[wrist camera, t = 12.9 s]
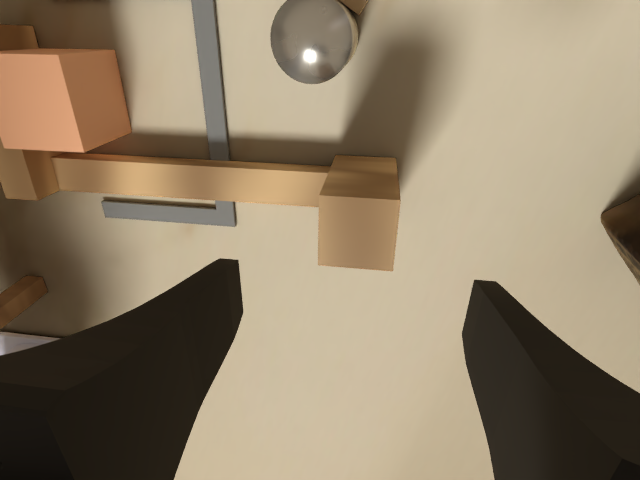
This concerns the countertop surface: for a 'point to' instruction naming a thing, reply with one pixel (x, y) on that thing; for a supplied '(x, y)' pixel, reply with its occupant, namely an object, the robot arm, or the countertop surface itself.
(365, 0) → the maple bar
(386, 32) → the countertop surface
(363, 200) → the oak crook
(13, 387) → the robot arm
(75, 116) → the terracotta cube
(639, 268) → the beverage carton
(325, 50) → the spice tin
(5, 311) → the wooden bench
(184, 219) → the tape bracket
